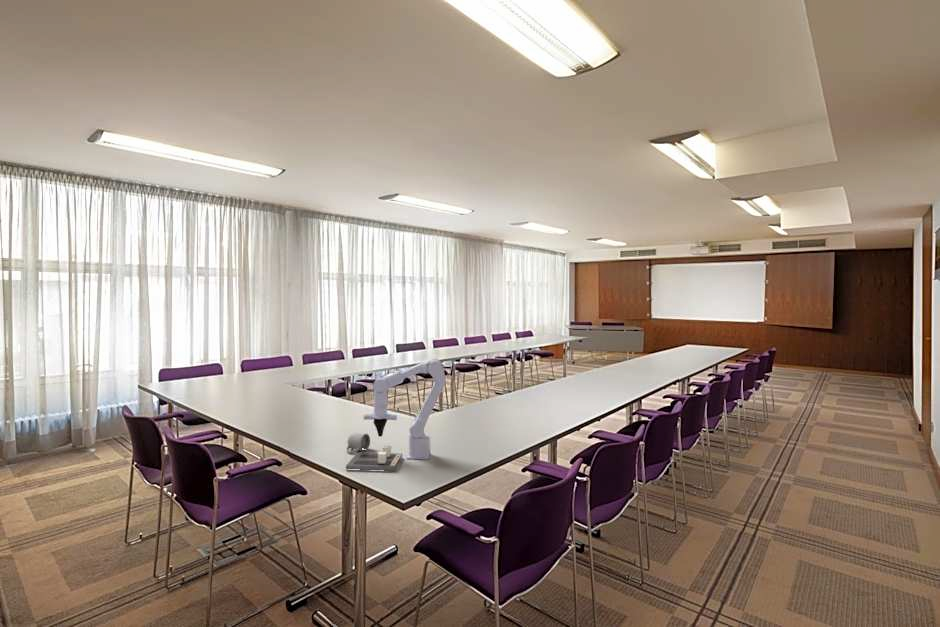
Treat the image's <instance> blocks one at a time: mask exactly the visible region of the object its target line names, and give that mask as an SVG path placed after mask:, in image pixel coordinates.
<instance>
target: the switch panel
mask: <svg viewBox="0 0 940 627" xmlns="http://www.w3.org/2000/svg"><path fill="white" fill-rule="evenodd" d="M378 453H379V452H356V454H355V455H354V456H353V457H352V458H351V459H350V460H349V462H348V463H347V464H346V465H345V470H346V469H360V470H384V471H395V472H396V470H397V468H398V467H399V465H400V464H401V462H400V461H402V460H403V453H395V452H393V453H392V452H391V455H390V457H387V461H386V463H378ZM401 459H402V460H401ZM398 464H399V465H398ZM397 466H398V467H397Z"/></svg>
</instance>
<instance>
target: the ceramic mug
mask: <svg viewBox="0 0 940 627" xmlns="http://www.w3.org/2000/svg"><path fill="white" fill-rule="evenodd" d="M370 445H371V437H370V435H369V434H368V433H361V432H360V433H359V432H354V433H352V434H350V435H349V437H348V438H347V446H346V452H347V453H348V452H350V453H353V454H355V452H356V453H358V452H360V451H361V452H365V451H364V450H362V448H364V449H367V450H368V449H369V447H370ZM350 449H352V450H350ZM354 449H355V450H354Z"/></svg>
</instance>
